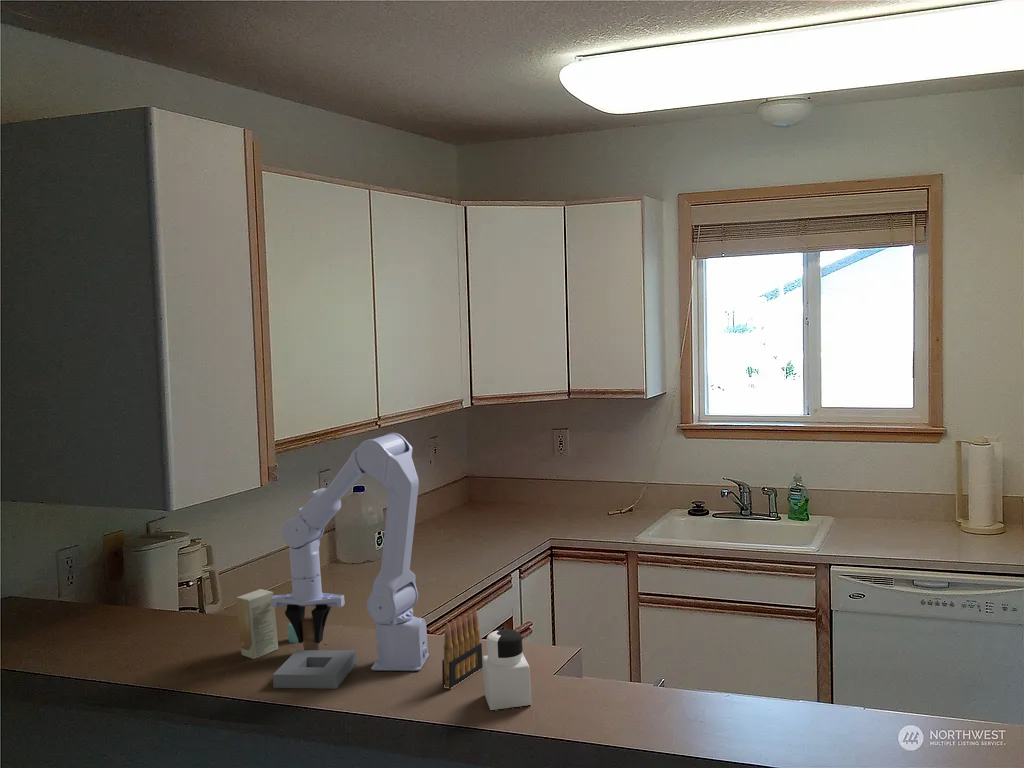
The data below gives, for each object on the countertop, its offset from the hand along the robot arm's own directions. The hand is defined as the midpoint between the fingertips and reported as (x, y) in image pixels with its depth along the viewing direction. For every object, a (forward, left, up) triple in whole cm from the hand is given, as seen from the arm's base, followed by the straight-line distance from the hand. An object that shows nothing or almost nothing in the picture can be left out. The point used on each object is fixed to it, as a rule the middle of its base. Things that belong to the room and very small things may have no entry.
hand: (310, 641), depth 191 cm
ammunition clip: (-33, +12, -3) cm, 35 cm away
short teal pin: (+6, -7, -2) cm, 10 cm away
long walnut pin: (0, 0, -2) cm, 2 cm away
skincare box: (+11, 0, -3) cm, 11 cm away
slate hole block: (-5, +11, -2) cm, 12 cm away
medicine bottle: (-43, +21, -3) cm, 48 cm away
